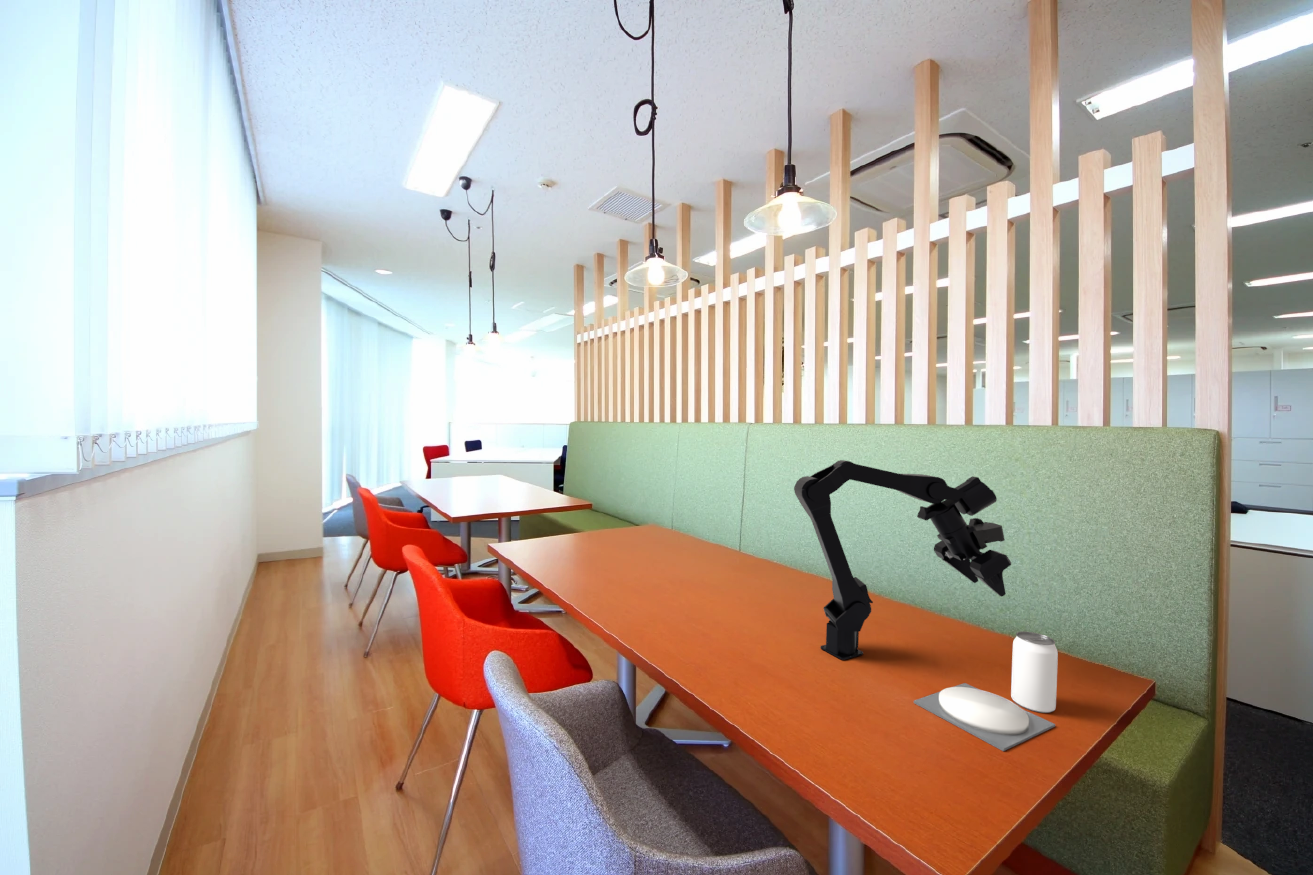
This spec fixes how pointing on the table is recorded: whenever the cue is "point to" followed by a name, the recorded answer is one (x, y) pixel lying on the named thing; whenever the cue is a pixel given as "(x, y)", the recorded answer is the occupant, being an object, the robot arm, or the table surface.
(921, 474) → the robot arm
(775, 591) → the table surface
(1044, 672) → the can
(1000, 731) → the dish
